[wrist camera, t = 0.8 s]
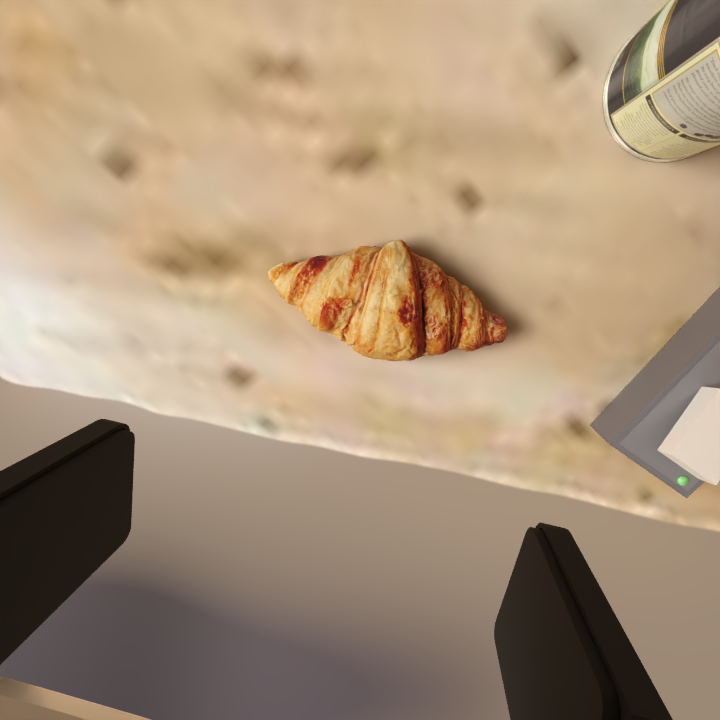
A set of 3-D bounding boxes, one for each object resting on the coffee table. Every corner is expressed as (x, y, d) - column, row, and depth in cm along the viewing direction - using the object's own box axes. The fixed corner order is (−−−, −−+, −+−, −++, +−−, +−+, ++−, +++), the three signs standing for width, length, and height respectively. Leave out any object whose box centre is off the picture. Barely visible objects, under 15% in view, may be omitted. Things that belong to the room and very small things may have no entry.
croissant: (282, 299, 43) (250, 348, 37) (280, 204, 36) (240, 246, 30) (488, 348, 41) (487, 407, 35) (527, 256, 34) (535, 312, 28)
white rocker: (701, 386, 32) (720, 388, 31) (742, 415, 33) (763, 419, 31) (657, 450, 33) (672, 455, 31) (698, 478, 33) (716, 485, 31)
